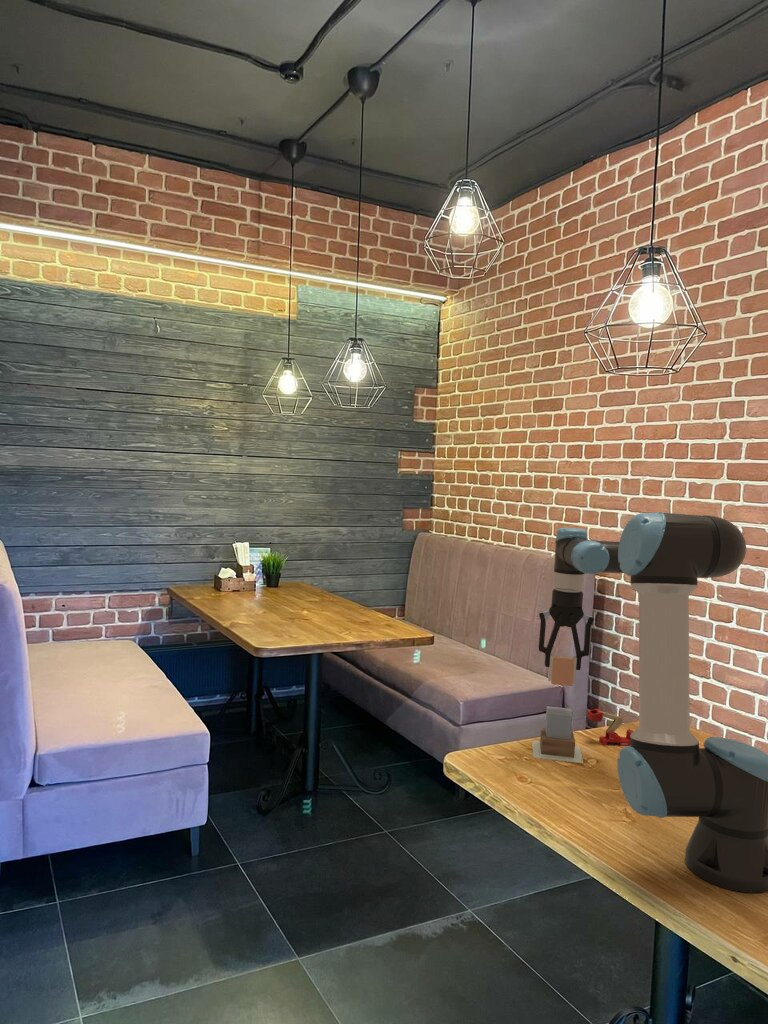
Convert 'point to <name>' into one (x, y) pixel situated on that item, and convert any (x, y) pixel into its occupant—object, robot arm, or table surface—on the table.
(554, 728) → the slate brick
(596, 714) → the toy fire truck
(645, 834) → the table surface
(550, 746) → the walnut base
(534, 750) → the plate
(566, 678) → the terracotta brick
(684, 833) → the table surface
